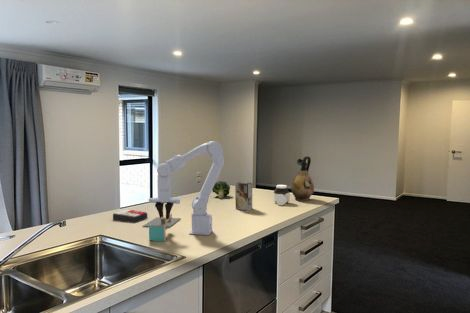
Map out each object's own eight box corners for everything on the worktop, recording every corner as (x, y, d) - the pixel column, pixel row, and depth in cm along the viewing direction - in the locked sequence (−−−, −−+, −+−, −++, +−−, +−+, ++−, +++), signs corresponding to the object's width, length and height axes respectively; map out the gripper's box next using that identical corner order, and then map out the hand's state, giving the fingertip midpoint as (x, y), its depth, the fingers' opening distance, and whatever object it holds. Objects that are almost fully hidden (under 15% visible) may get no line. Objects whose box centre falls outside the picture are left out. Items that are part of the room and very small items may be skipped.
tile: (165, 240, 162) (165, 224, 161) (164, 241, 160) (163, 225, 159) (150, 239, 163) (150, 224, 162) (149, 240, 161) (148, 225, 161)
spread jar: (284, 201, 247) (284, 184, 246) (294, 204, 236) (294, 186, 235) (269, 202, 241) (269, 185, 240) (278, 206, 231) (278, 187, 230)
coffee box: (253, 208, 225) (252, 182, 224) (248, 210, 219) (248, 184, 218) (239, 207, 229) (239, 181, 228) (235, 209, 223) (234, 183, 222)
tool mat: (180, 219, 199) (180, 218, 199) (169, 228, 181) (169, 227, 181) (156, 218, 202) (156, 217, 202) (142, 226, 184) (142, 225, 184)
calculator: (135, 216, 193) (112, 212, 199) (135, 224, 193) (112, 220, 199) (147, 211, 203) (125, 208, 209) (147, 219, 203) (125, 215, 209)
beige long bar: (163, 222, 177) (163, 213, 177) (175, 222, 176) (175, 213, 175) (151, 229, 163) (151, 220, 163) (164, 230, 162) (164, 220, 162)
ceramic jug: (303, 202, 241) (304, 157, 238) (286, 199, 253) (286, 156, 250) (320, 199, 251) (320, 156, 249) (302, 196, 263) (303, 155, 261)
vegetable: (208, 195, 257) (210, 183, 270) (220, 206, 262) (222, 194, 275) (220, 186, 253) (222, 174, 266) (233, 197, 257) (234, 185, 270)
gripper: (181, 188, 171) (182, 216, 172) (152, 187, 174) (153, 215, 175) (176, 191, 165) (177, 220, 166) (146, 190, 167) (147, 219, 168)
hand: (164, 218), depth 170 cm, fingers closed on beige long bar, 2 cm apart
